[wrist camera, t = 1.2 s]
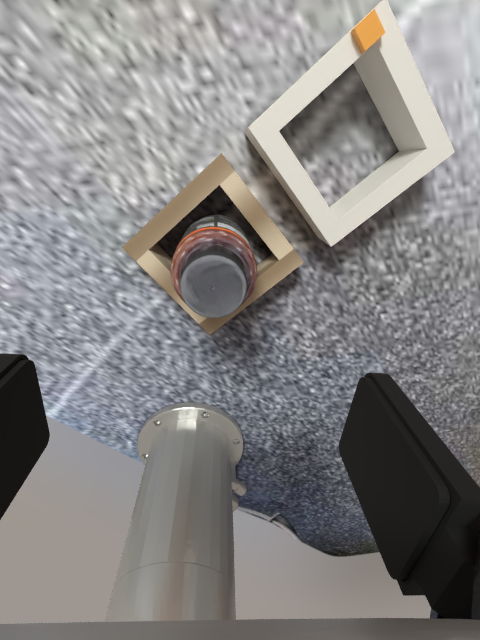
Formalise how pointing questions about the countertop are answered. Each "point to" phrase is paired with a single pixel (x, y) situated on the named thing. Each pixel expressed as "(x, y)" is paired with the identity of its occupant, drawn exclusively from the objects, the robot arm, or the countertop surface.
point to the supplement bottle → (214, 267)
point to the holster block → (209, 179)
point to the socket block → (394, 108)
